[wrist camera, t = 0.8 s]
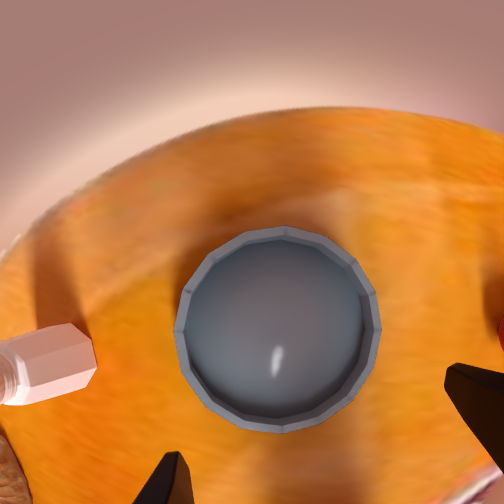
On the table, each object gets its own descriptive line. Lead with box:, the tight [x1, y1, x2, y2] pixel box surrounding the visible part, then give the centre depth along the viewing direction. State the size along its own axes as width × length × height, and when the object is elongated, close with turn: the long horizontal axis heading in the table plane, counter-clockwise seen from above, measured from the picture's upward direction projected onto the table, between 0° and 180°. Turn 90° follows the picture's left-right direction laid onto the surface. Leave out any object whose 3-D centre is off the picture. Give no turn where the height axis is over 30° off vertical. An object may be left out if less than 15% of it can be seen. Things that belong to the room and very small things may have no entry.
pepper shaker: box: [0, 323, 97, 405], centre depth 15 cm, size 5×5×11 cm
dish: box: [173, 226, 382, 434], centre depth 21 cm, size 14×14×2 cm
